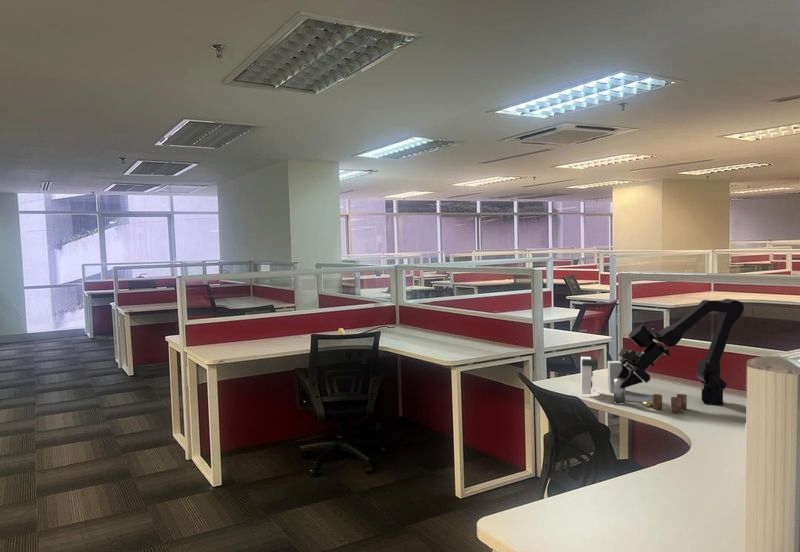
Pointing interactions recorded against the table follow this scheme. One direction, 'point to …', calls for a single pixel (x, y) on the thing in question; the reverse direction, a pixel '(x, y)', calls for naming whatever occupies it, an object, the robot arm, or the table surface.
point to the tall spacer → (619, 390)
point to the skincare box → (613, 373)
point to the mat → (638, 397)
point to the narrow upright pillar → (586, 374)
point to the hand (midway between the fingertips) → (618, 385)
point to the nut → (648, 403)
